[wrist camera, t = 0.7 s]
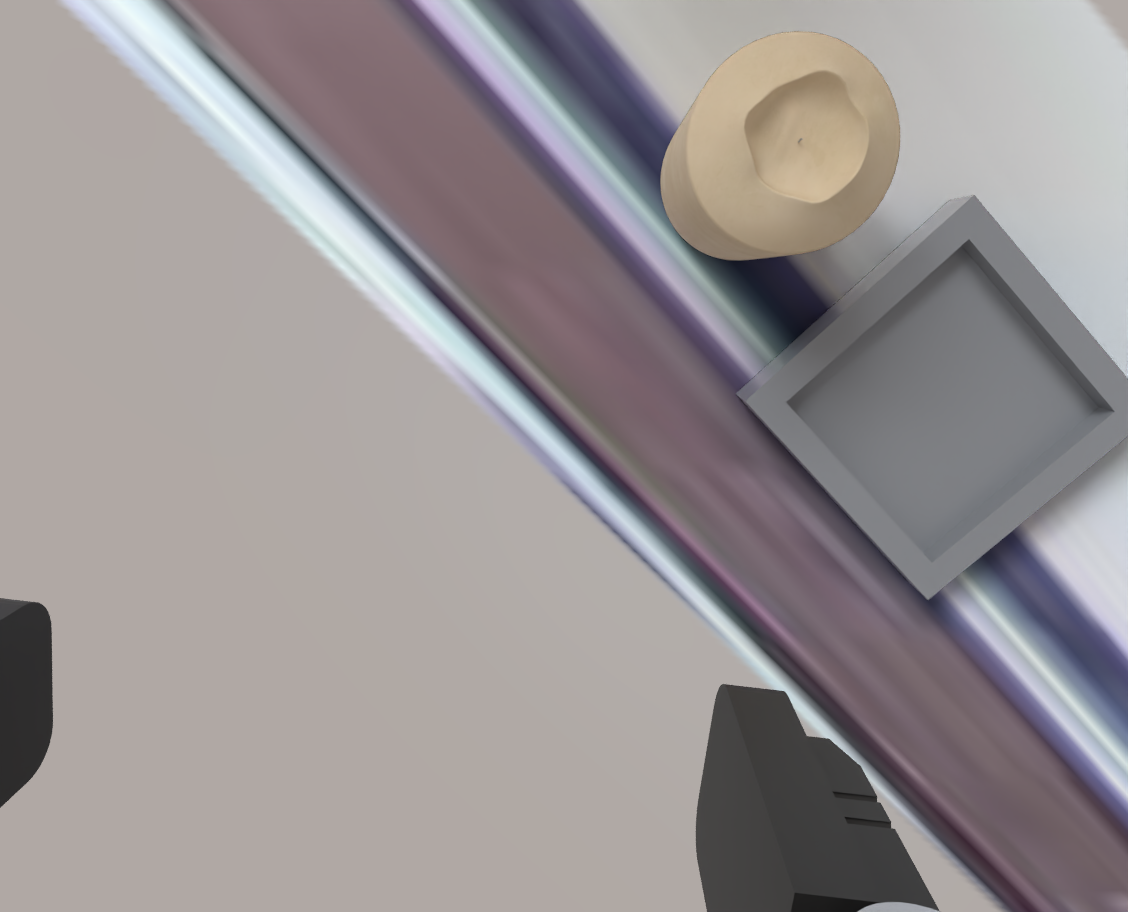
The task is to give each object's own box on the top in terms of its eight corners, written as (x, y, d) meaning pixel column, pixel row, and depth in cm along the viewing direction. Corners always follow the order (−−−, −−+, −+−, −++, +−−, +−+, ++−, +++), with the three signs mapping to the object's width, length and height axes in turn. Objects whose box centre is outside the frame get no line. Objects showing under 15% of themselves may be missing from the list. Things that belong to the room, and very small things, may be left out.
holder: (735, 393, 32) (745, 401, 30) (949, 200, 31) (974, 195, 29) (908, 581, 34) (928, 600, 32) (1121, 404, 32) (1156, 412, 30)
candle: (635, 226, 31) (657, 203, 22) (696, 73, 30) (748, -24, 21) (776, 284, 32) (861, 287, 22) (841, 134, 31) (961, 67, 21)
